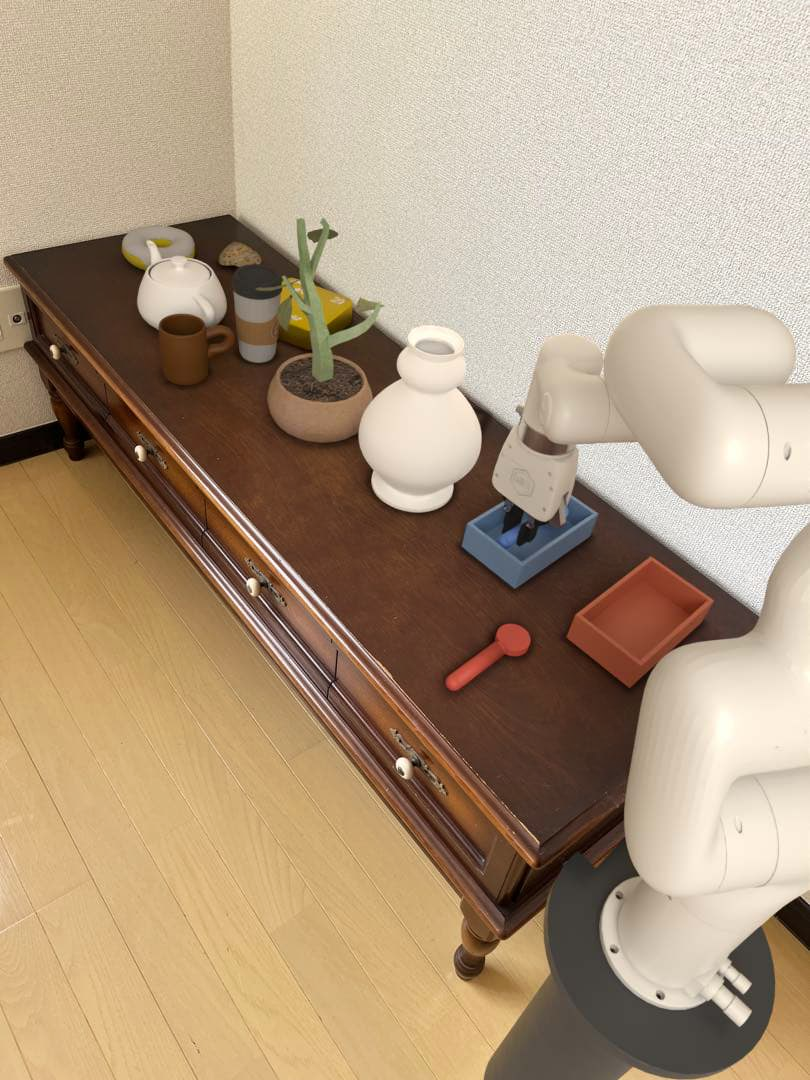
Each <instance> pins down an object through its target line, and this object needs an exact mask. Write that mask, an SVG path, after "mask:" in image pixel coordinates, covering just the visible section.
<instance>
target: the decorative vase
mask: <svg viewBox="0 0 810 1080" xmlns="http://www.w3.org/2000/svg"><path fill="white" fill-rule="evenodd" d="M406 345H407V346H406V347H405V348H404V349H402V350H401V352H400V353H399V354H398V357H397V359H396V370H397V372H398V375H399V376H400V379H398V380H396V381H395V382H393V383H391V384H390V385H388V386H387V387H385V388H384V389H382V391H380V392H379V393H378V394H377V395H376V396H375V397H373V400H372V401H371V403H370V404H369V405H368V407H367V408H366V410H365V412H364V414H363V416H362V419H361V422H360V426H359V432H358V445H359V448H360V452H361V454H362V456H363V457H364V459H365V461H366V462H367V464H368V465H369V467H370V468H371V469H372V470H373V471H372V474H371V479H370V480H371V481H370V482H371V488H372V490H373V492H374V494H375V495H376V497H378V499H379V500H381V501H382V502H383V503H385V504H387V506H390V507H391V508H394V509H397V510H400V511H403V512H408V513H427V512H431V511H435V510H437V509H439V508H443V506H445V505H447V504H448V502H449V501H450V500H451V498H452V496H453V492H454V484H455V483H457V482H459V481H460V480H462V479H463V478H464V477H466V475H468V473H469V472H471V471H472V469H473V468H474V466H475V465H476V463H477V462H478V459H479V457H480V455H481V454H480V453H481V450H482V430H481V429H482V428H481V424H480V422H479V419H478V416H477V414H476V412H475V410H474V408H473V406H472V405H471V403H470V402H469V400H468V399H467V397H465V395H464V394H463V393H462V392H461V391H460V390H459V388H457V387H460V385H461V384H462V383H463V382H464V380H465V379H466V375H467V372H468V368H467V364H466V360H465V358H464V357H463V356H462V354H463V353H464V349H465V340H464V338H463V337H462V336H461V335H460V334H459V333H457V332H456V331H455V330H453V329H450V328H448V327H444V326H441V325H435V324H434V325H432V324H431V325H430V324H429V325H428V324H427V325H420V326H416V327H415V328H413V329H411V330H410V331H409V332H408V334H407V340H406Z"/></svg>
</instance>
